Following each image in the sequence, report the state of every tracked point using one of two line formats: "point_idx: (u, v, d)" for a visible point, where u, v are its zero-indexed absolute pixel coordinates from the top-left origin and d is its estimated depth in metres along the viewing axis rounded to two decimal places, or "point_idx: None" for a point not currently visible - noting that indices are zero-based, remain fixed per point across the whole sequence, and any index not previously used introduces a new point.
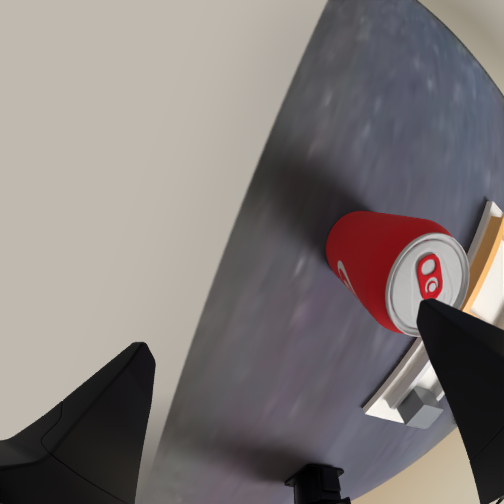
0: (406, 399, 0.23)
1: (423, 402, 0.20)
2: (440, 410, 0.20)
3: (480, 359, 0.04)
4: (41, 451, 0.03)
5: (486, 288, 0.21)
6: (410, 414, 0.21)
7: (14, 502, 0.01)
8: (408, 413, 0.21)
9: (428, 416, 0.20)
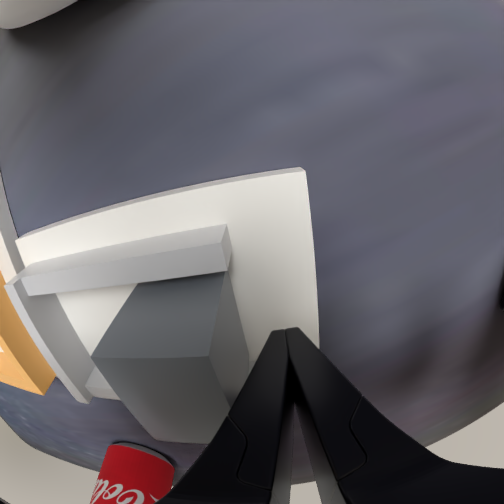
0: None
1: None
2: (106, 373, 0.05)
3: (307, 415, 0.05)
4: (253, 494, 0.03)
5: None
6: None
7: None
8: None
9: (161, 404, 0.06)
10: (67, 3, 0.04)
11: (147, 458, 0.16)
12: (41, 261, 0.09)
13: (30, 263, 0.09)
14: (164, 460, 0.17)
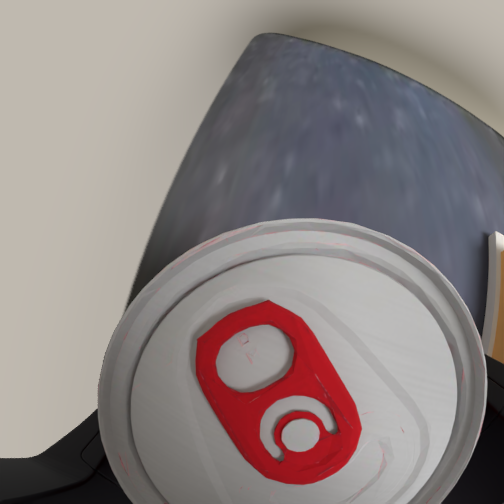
0: None
1: None
2: None
3: None
4: (82, 468, 0.03)
5: None
6: None
7: None
8: None
9: None
10: None
11: None
12: None
13: None
14: None
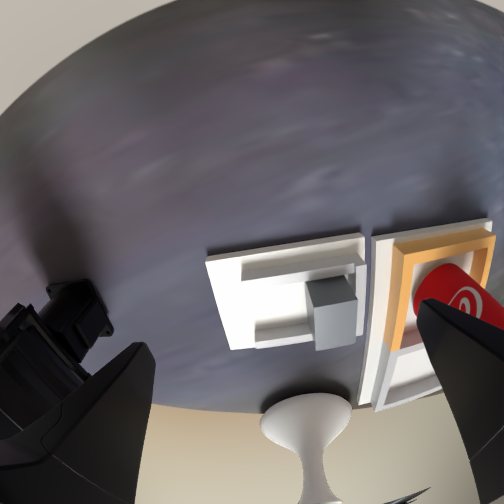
0: (328, 282, 0.19)
1: (356, 297, 0.17)
2: (353, 338, 0.18)
3: (480, 359, 0.04)
4: (41, 452, 0.03)
5: None
6: (327, 300, 0.17)
7: (14, 502, 0.01)
8: (325, 297, 0.18)
9: (339, 329, 0.18)
10: (306, 396, 0.26)
11: (415, 311, 0.21)
12: None
13: None
14: (415, 294, 0.21)
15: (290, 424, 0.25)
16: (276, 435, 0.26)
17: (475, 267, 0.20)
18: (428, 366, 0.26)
